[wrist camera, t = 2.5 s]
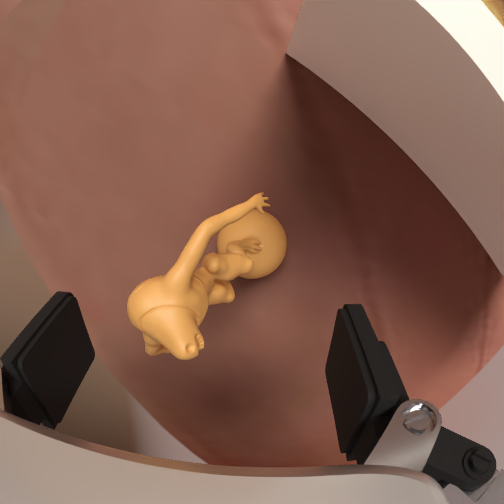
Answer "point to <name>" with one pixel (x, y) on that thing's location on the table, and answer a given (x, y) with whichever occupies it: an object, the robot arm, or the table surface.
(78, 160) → the table surface
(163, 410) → the table surface
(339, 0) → the screen
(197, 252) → the figurine
